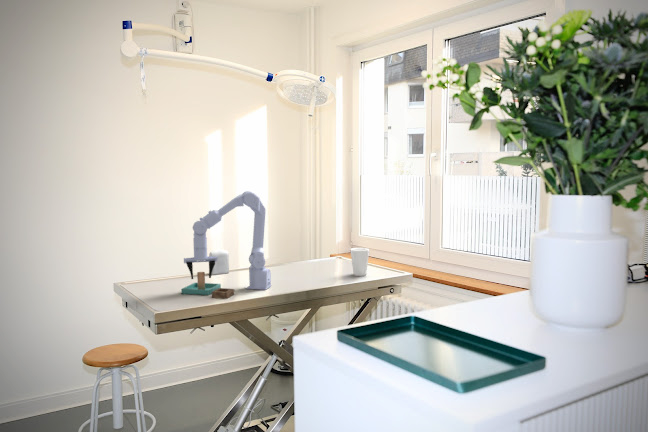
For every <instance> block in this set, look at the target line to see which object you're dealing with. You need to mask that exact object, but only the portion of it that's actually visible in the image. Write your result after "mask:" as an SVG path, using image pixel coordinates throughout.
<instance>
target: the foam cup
mask: <svg viewBox="0 0 648 432" xmlns="http://www.w3.org/2000/svg"><path fill="white" fill-rule="evenodd" d="M369 255H370V249H369V248H366V247H354V248H350V257H351V266H352V274H353V275H354V276H357V277H364V276H366V275H367V272H368V271H367V270H368V265H369V264H368V263H369Z"/></svg>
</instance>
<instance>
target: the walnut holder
mask: <svg viewBox="0 0 648 432" xmlns="http://www.w3.org/2000/svg"><path fill="white" fill-rule="evenodd" d="M234 295H235V289H234V288H227V287H226V288H223V287H221V288H218V289H216V290H214V291H213V292H212V294H211V297H212V298H215V299H229V298H231V297H232V296H234Z"/></svg>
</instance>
